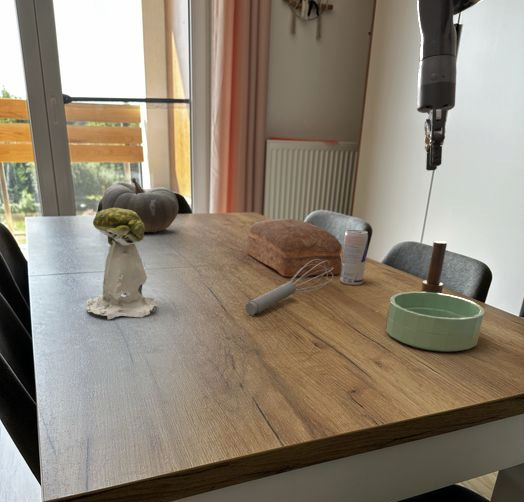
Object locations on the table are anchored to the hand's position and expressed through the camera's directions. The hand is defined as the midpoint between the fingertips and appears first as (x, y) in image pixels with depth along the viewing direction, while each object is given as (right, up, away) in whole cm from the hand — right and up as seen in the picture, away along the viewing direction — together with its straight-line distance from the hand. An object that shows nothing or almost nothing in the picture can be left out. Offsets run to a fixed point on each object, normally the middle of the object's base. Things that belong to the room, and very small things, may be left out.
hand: (433, 168), depth 109 cm
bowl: (-7, -36, -19) cm, 42 cm away
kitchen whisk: (-30, -28, -1) cm, 41 cm away
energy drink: (-15, -23, +13) cm, 30 cm away
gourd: (-77, +2, +66) cm, 102 cm away
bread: (-29, -16, +29) cm, 44 cm away
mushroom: (-63, -31, -13) cm, 71 cm away
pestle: (+1, -27, +6) cm, 27 cm away
